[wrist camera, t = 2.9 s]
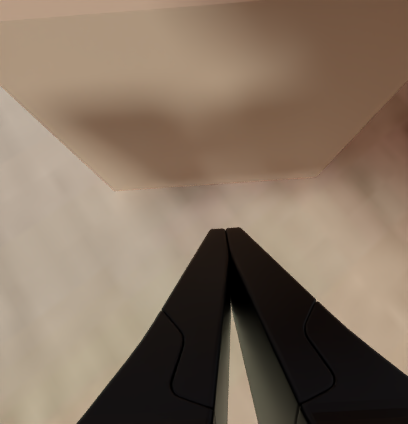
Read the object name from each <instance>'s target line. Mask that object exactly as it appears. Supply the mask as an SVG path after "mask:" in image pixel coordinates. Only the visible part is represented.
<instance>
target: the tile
mask: <svg viewBox="0 0 408 424" xmlns="http://www.w3.org/2000/svg"><path fill="white" fill-rule="evenodd" d="M407 81H408V0H0V86H1V87H2V88H3V89H4V90H5V91H6V92H7V93H9V94H10V95H11V96H12V97H13V98H14V99H15V100H16V101H17V102H18V103H19V104H20V105H22V106H23V107H24V108H25V109H26V110H27V111H28V112H29V113H30V114H31V115H32V116H33V117H35V118H36V119H37V120H38V121H39V122H40V123H41V124H42V125H43V126H44V127H45V128H46V129H47V130H49V131H50V132H51V133H52V134H53V135H54V136H55V137H56V138H57V139H58V140H59V141H60V142H62V143H63V144H64V145H65V146H66V147H67V148H68V149H69V150H70V151H71V152H72V153H73V154H75V155H76V156H77V157H78V158H79V159H80V160H81V161H82V162H83V163H84V164H85V165H86V166H88V167H89V168H90V169H91V170H92V171H93V172H94V173H95V174H96V175H97V176H98V177H99V178H101V179H102V180H103V181H104V182H105V183H106V184H107V185H108V186H109V187H110V188H111V189H112V190H113V191H124V190H139V189H154V188H168V187H183V186H197V185H212V184H227V183H241V182H256V181H271V180H285V179H300V178H315V177H317V175H318V174H319V173H320V172H321V171H322V170H323V169H324V168H325V167H326V166H327V165H328V164H329V163H330V162H331V161H332V160H333V159H334V158H335V157H336V156H337V154H338V153H339V152H340V151H341V150H342V149H343V148H344V147H345V146H346V145H347V144H348V143H349V142H350V141H351V140H352V139H353V138H354V137H355V136H356V135H357V133H358V132H359V131H360V130H361V129H362V128H363V127H364V126H365V125H366V124H367V123H368V122H369V121H370V120H371V119H372V118H373V117H374V116H375V115H376V114H377V112H378V111H379V110H380V109H381V108H382V107H383V106H384V105H385V104H386V103H387V102H388V101H389V100H390V99H391V98H392V97H393V96H394V95H395V94H396V92H397V91H398V90H399V89H400V88H401V87H402V86H403V85H404V84H405V83H406V82H407Z"/></svg>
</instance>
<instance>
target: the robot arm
mask: <svg viewBox="0 0 408 424" xmlns="http://www.w3.org/2000/svg"><path fill="white" fill-rule="evenodd" d="M231 307H232V312H233V317H234V321H235V325H236V330H237V334H238V338H239V343H240V347H241V351H242V355H243V360H244V364H245V368H246V373H247V377H248V381H249V386H250V390H251V394H252V398H253V403H254V407H255V411H256V416H257V420H258V424H408V376H407V375H406V374H404V373H403V372H402V371H400V370H399V369H398V368H397V367H395V366H394V365H393V364H391V363H390V362H389V361H388V360H386V359H385V358H384V357H383V356H381V355H380V354H379V353H377V352H376V351H375V350H374V349H372V348H371V347H370V346H369V345H367V344H366V343H365V342H364V341H362V340H361V339H360V338H359V337H358V336H356V335H355V334H354V333H353V332H351V331H350V330H349V329H348V328H347V327H346V326H344V325H343V324H342V323H341V322H340V321H339V320H338V319H337V318H336V317H334V316H333V315H332V314H331V313H330V312H329V311H328V310H327V309H326V308H325V307H324V306H323V305H322V304H320V303H319V302H318V301H317V302H316V299H315V298H314V297H313V296H312V295H311V294H310V293H309V292H308V291H307V290H306V289H304V288H303V287H302V286H301V285H300V284H299V283H298V282H297V281H296V280H295V279H294V278H293V277H292V276H291V275H290V274H289V273H288V272H287V271H286V270H285V269H283V268H282V267H281V266H280V265H279V264H278V263H277V262H276V261H275V260H274V259H273V258H272V257H271V256H270V255H269V254H268V253H267V252H266V251H265V250H263V249H262V248H261V247H260V246H259V245H258V244H257V243H256V242H255V241H254V240H253V239H252V238H251V237H250V236H249V235H248V234H247V233H246V232H245V231H243V230H242V229H241V228H239V227H237V228H227V229H226V231H225V229H211V230H210V231H209V232H208V234H207V236H206V237H205V239H204V240H203V242H202V244H201V245H200V247H199V249H198V250H197V252H196V254H195V255H194V257H193V258H192V260H191V262H190V263H189V265H188V267H187V268H186V270H185V272H184V273H183V275H182V276H181V278H180V280H179V281H178V283H177V285H176V286H175V288H174V290H173V291H172V293H171V295H170V296H169V298H168V299H167V301H166V303H165V304H164V306H163V308H162V311H160V312H159V314H158V316H157V317H156V319H155V321H154V322H153V324H152V325H151V327H150V328H149V330H148V331H147V333H146V334H145V336H144V337H143V339H142V340H141V342H140V343H139V345H138V346H137V347H136V349H135V350H134V351H133V353H132V354H131V355H130V357H129V358H128V359H127V361H126V362H125V363H124V364H123V366H122V367H121V368H120V370H119V371H118V372H117V373H116V375H115V376H114V377H113V378H112V380H111V381H110V382H109V383H108V385H107V386H106V387H105V389H104V390H103V391H102V392H101V394H100V395H99V396H98V397H97V399H96V400H95V401H94V402H93V404H92V405H91V406H90V408H89V409H88V410H87V411H86V413H85V414H84V415H83V416H82V418H81V419H80V420H79V421H78V422H77V424H227V417H228V386H229V356H230V325H231Z"/></svg>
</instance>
